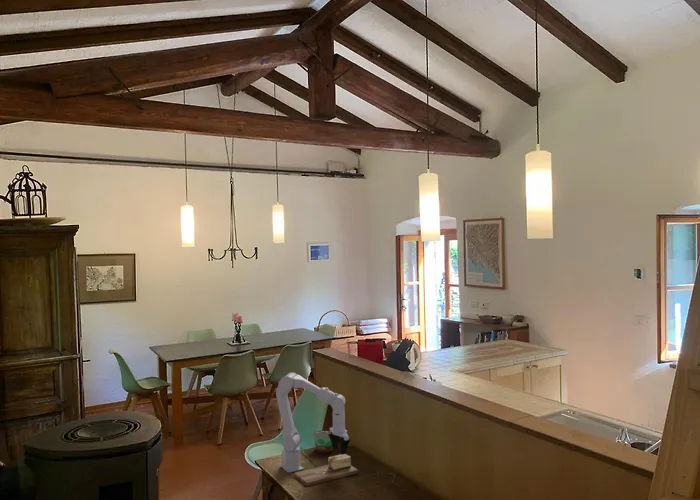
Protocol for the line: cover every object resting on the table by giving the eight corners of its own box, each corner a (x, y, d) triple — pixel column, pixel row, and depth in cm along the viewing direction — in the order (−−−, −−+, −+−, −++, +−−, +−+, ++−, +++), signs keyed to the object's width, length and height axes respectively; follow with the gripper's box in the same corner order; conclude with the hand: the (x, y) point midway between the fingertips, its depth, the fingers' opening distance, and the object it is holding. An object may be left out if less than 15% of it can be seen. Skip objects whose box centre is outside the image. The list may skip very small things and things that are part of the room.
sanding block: (328, 468, 250) (328, 457, 251) (345, 464, 255) (345, 453, 255) (333, 471, 246) (333, 460, 246) (350, 467, 251) (350, 456, 251)
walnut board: (294, 476, 246) (294, 472, 246) (343, 464, 259) (343, 460, 259) (306, 486, 235) (306, 482, 235) (358, 473, 248) (358, 469, 248)
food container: (310, 452, 275) (310, 433, 275) (313, 448, 281) (313, 429, 281) (334, 453, 273) (334, 433, 273) (336, 449, 279) (336, 430, 279)
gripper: (354, 424, 247) (354, 454, 247) (338, 416, 259) (339, 445, 259) (340, 427, 243) (341, 457, 243) (325, 419, 256) (326, 448, 255)
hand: (339, 451), depth 251 cm, fingers open, 7 cm apart
